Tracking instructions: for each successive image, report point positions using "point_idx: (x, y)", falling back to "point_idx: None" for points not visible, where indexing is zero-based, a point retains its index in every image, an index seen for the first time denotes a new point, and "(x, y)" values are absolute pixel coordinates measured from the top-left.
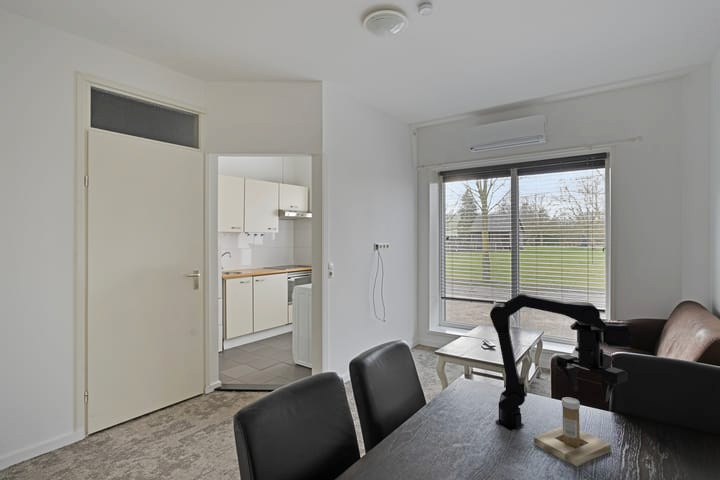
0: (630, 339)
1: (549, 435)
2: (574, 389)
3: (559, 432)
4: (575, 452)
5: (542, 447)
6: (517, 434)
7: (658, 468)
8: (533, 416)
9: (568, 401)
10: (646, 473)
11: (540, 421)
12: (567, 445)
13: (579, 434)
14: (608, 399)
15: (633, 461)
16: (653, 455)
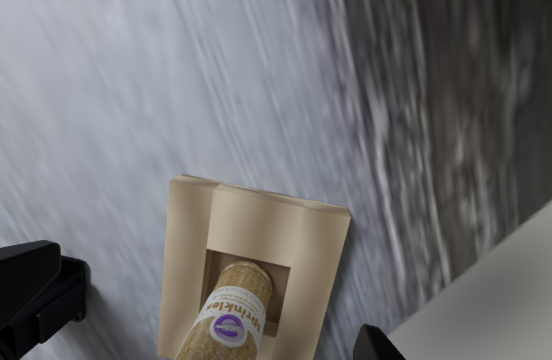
0: None
1: (179, 313)
2: (39, 292)
3: (188, 270)
4: (285, 358)
5: None
6: (109, 320)
7: (504, 204)
8: (49, 160)
9: None
10: (471, 266)
11: (88, 180)
12: None
13: (264, 320)
14: (394, 347)
15: (424, 220)
16: (479, 113)
